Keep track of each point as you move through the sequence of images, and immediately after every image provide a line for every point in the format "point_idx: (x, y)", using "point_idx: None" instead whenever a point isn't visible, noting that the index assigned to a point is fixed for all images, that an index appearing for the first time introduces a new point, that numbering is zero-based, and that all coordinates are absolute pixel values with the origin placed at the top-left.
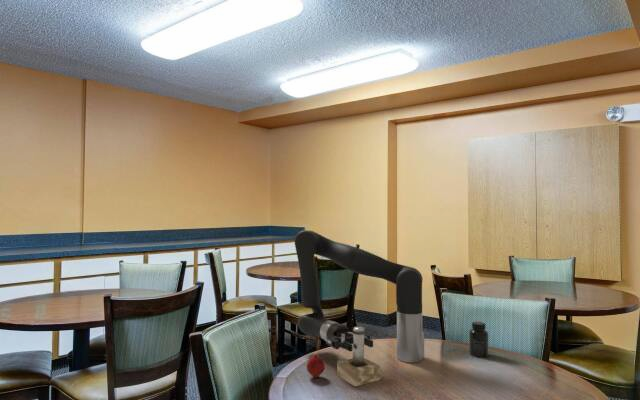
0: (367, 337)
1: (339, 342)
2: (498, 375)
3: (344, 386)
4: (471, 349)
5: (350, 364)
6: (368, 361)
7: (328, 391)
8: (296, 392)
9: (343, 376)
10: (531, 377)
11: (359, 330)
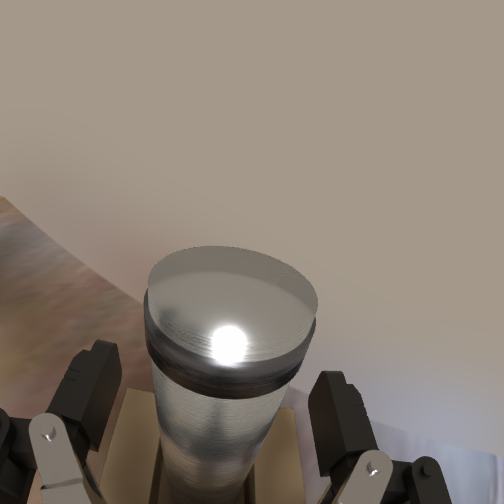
0: (15, 433)
1: (396, 480)
2: None
3: (314, 458)
4: None
5: (258, 491)
6: (122, 461)
7: (384, 444)
8: (469, 460)
9: None
10: None
11: (269, 263)
